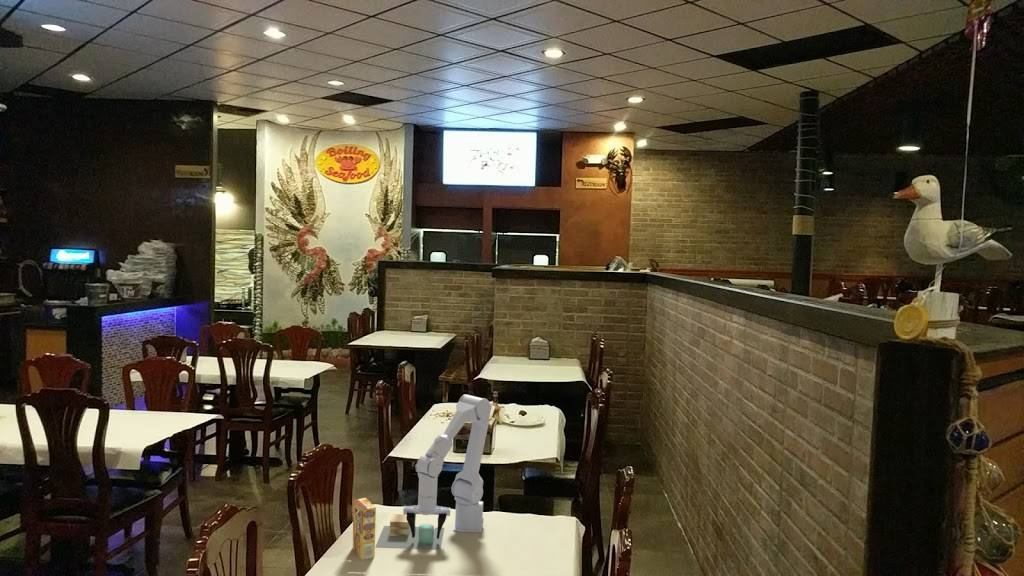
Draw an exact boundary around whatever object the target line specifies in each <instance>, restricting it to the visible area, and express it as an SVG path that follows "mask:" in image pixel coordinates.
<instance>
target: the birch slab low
mask: <svg viewBox="0 0 1024 576" xmlns="http://www.w3.org/2000/svg"><path fill="white" fill-rule="evenodd" d="M410 529H411V528H410V527H409V529H390V536H409V533H410Z"/></svg>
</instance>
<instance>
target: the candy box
mask: <svg viewBox="0 0 1024 576" xmlns="http://www.w3.org/2000/svg"><path fill="white" fill-rule="evenodd" d="M352 509H353V511H352V514H353V516H352V524H353V525H352V550H353V551H354V552H355V553H356V554H357V556H358V557H359V558H360V559H361V561H362V560H363V561H364V560H367V559H372V558H375V556H376V555H375V553H376V552H375V551H376V550H375V549H376V548H375V547H376V519H377V517H376V514H377V512H376V509H377V507H376V506H375V504H373V503H372V502H370V500H369V499H367V497H362V498H358V499H354V500H353V507H352Z"/></svg>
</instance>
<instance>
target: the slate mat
mask: <svg viewBox="0 0 1024 576" xmlns="http://www.w3.org/2000/svg"><path fill="white" fill-rule="evenodd" d="M437 531H438V526H437V527H436V528H435V529H434V534H433V544H431V545H428V546H423V545H420V544H419V543H418V541H419V526H415V537H414V538H412V532H411V529H410V533H409V536H390V525H384V526H383V528H382V530H381V533H380V535H379V537H378V540H377V542H376V543H375V549H376V548H377V549H379V548H381V549H384V548H385V549H407V550H409V549H412V550H413V549H414V550H416V549H417V550H441V548H442V544H443V537H444V533H445V527H442V528H441V531H440V536H439V539H437Z"/></svg>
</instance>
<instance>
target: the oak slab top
mask: <svg viewBox="0 0 1024 576" xmlns="http://www.w3.org/2000/svg"><path fill="white" fill-rule="evenodd" d="M406 517H407V514H406V515H404V514H392V516H391V518H390V521H389V526H390V529H409V527H410V526H409V523H408V521H407V519H406Z"/></svg>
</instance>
